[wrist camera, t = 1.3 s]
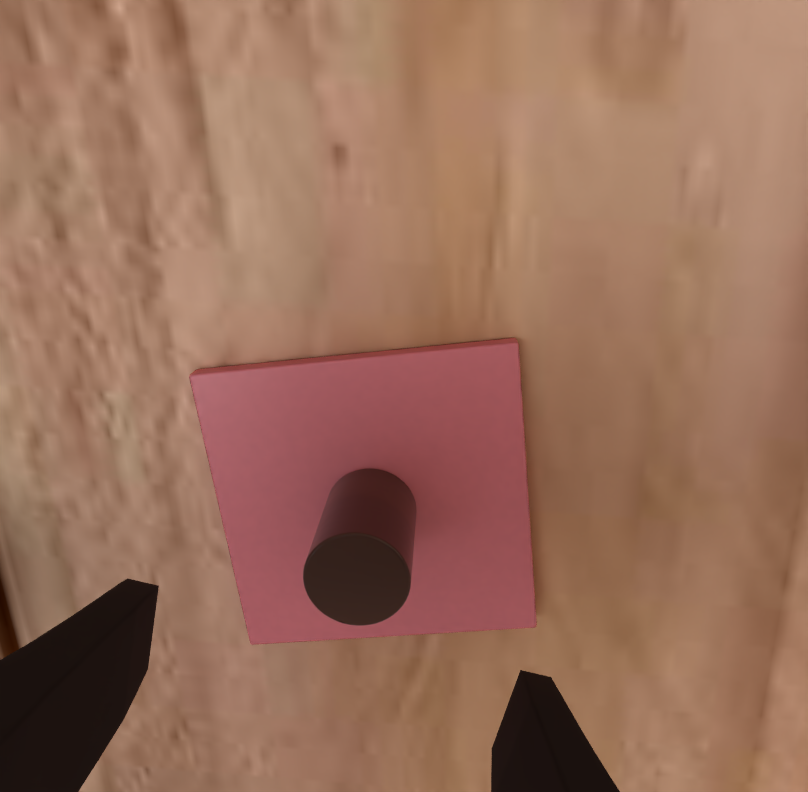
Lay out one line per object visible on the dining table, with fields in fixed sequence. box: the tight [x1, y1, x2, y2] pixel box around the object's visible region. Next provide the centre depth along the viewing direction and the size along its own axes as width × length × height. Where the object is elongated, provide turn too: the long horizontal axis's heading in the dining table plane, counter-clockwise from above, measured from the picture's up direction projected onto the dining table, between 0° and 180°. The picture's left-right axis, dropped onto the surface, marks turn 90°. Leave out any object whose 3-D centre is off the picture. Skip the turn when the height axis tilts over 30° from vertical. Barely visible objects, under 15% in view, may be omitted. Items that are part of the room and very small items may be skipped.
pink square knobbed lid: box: [189, 338, 537, 645], centre depth 18 cm, size 9×9×4 cm
